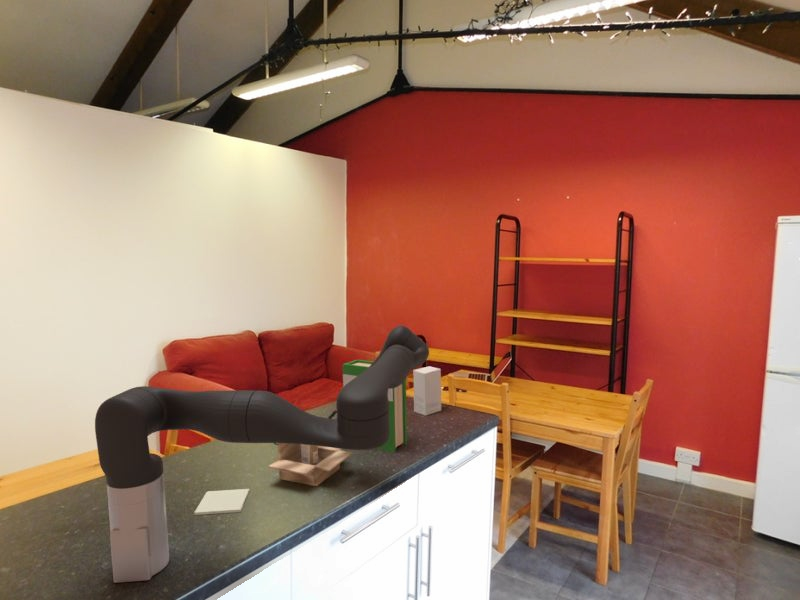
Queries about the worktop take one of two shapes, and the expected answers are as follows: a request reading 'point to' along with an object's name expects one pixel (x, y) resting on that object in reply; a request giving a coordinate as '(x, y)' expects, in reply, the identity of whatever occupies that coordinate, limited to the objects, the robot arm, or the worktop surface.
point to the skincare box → (427, 390)
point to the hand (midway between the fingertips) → (328, 432)
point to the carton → (307, 473)
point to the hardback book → (395, 405)
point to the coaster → (222, 502)
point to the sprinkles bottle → (309, 454)
